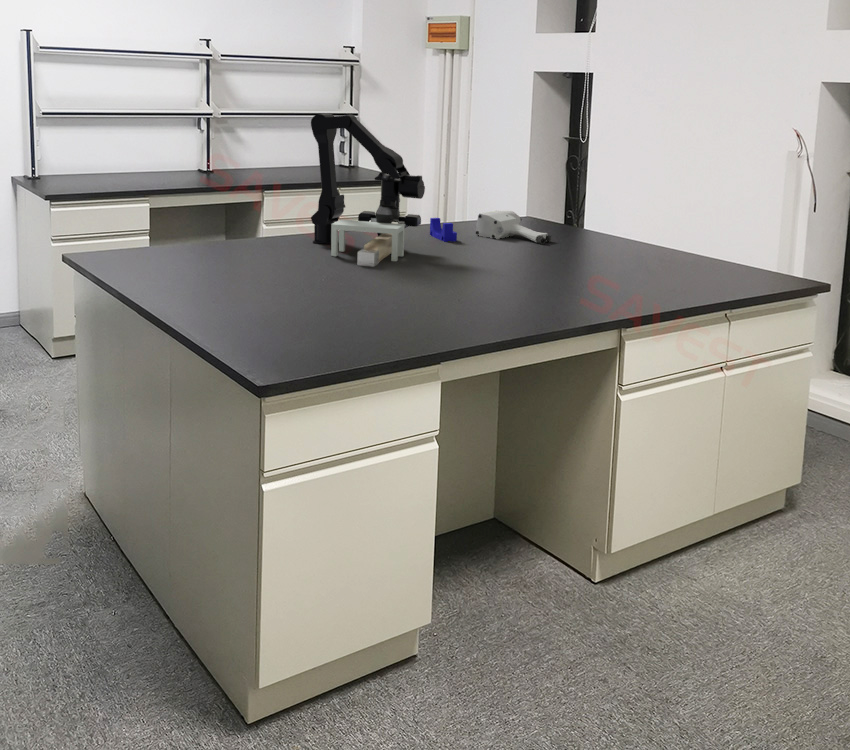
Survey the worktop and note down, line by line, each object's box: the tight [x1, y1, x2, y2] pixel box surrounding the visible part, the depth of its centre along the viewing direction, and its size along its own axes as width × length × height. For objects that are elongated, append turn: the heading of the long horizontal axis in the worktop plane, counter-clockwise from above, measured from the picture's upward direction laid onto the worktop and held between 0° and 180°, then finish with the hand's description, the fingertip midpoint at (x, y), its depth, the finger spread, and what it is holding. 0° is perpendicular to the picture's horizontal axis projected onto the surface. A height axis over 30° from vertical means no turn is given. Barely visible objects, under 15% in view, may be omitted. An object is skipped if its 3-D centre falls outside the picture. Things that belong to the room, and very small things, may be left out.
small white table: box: [330, 219, 405, 262], centre depth 295 cm, size 20×9×10 cm, turn 77°
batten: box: [363, 233, 392, 263], centre depth 298 cm, size 4×25×5 cm, turn 167°
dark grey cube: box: [356, 248, 380, 268], centre depth 285 cm, size 5×5×4 cm
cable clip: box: [429, 217, 458, 243], centre depth 328 cm, size 12×4×6 cm, turn 23°
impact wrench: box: [475, 210, 552, 245], centre depth 337 cm, size 8×23×25 cm
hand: (389, 246), depth 306 cm, fingers closed on batten, 4 cm apart
